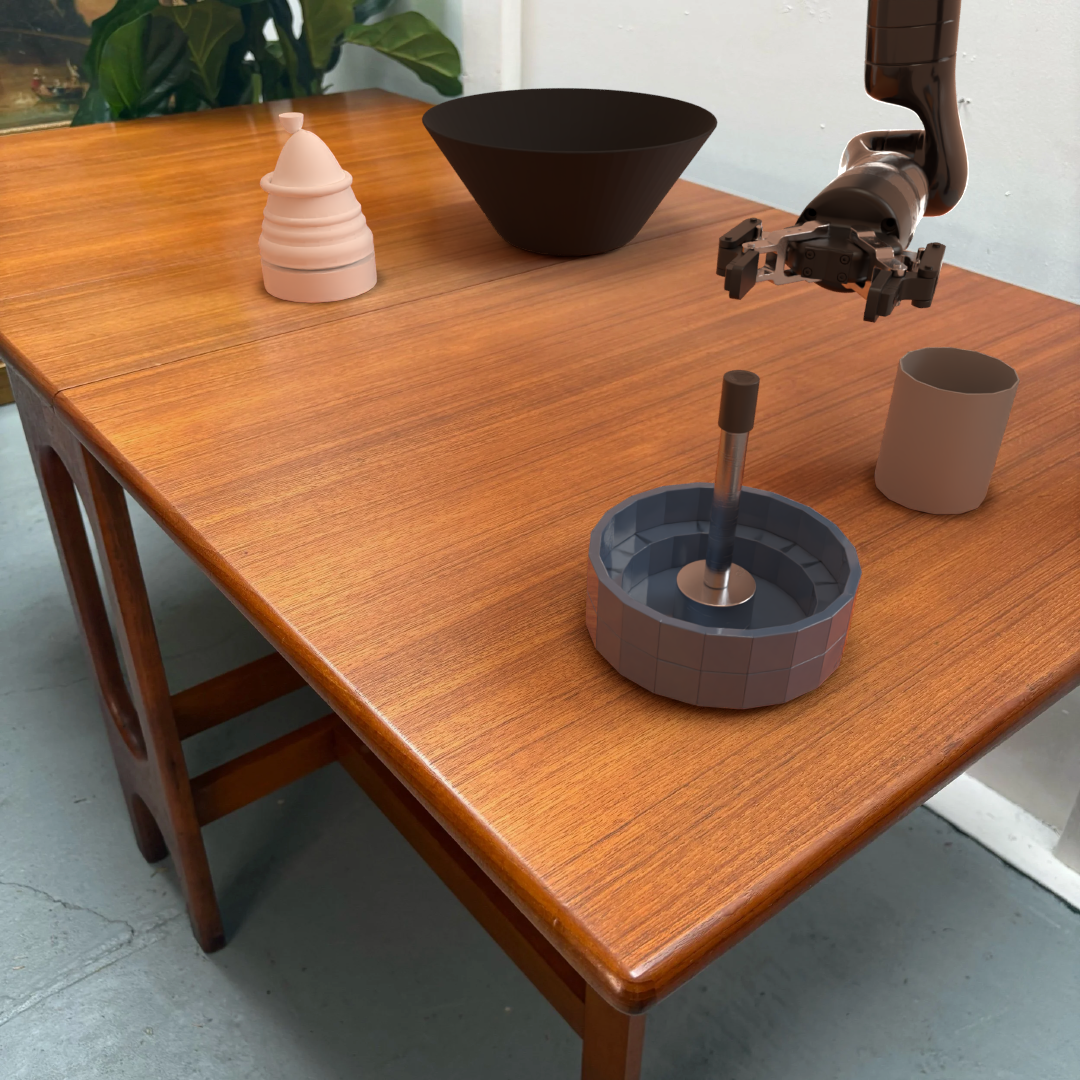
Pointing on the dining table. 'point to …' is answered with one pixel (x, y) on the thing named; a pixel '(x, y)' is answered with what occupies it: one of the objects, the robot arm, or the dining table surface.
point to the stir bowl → (706, 652)
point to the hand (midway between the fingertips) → (801, 295)
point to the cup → (944, 429)
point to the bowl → (568, 161)
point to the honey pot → (313, 224)
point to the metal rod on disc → (723, 521)
